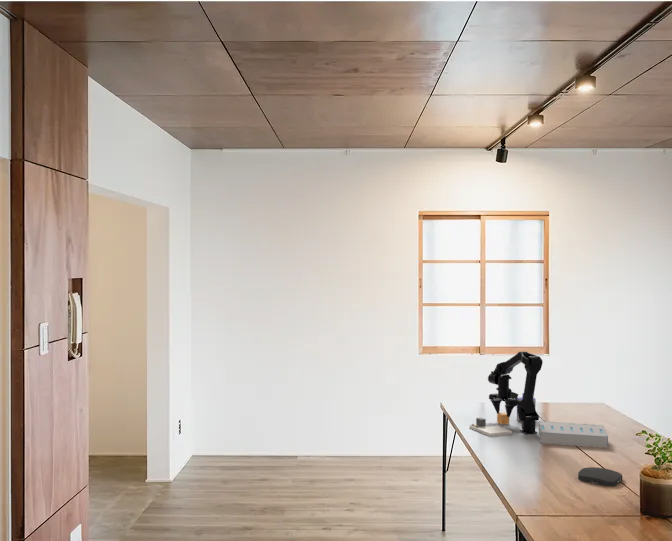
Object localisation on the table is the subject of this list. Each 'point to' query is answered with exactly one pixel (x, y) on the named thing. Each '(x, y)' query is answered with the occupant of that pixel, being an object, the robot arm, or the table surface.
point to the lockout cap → (502, 418)
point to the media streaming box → (600, 476)
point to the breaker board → (491, 429)
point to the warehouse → (572, 434)
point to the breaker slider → (480, 421)
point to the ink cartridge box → (521, 400)
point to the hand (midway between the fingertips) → (503, 415)
